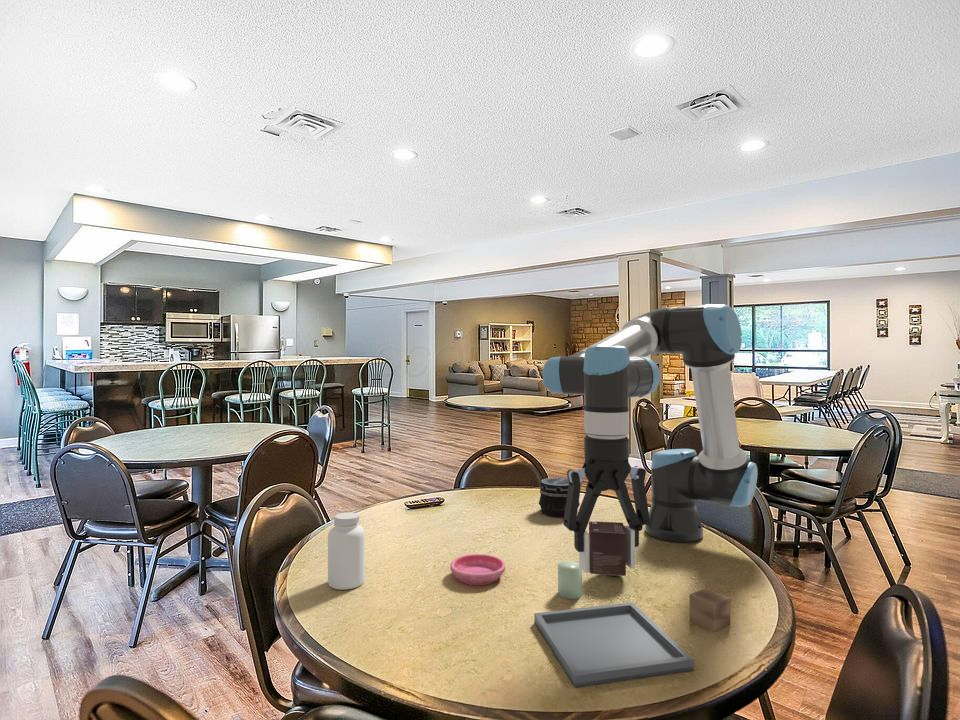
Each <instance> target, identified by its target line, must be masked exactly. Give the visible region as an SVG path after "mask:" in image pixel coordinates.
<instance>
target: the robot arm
mask: <svg viewBox="0 0 960 720" xmlns="http://www.w3.org/2000/svg"><path fill="white" fill-rule="evenodd" d="M741 328H742V327H741V323H740V320H739V316H738V315H737V313H736V312H735V310H734V309H733V307H731V306H730V305H727V304H724V303H723V304H721V303H720V304H713V303H707V304H697V305H696V304H695V305H681V306H667V307H661V308H657V309H654V310H651V311H649V312H646V313H643V314H641V315H638V316H637V317H635V318H632V319H630V320H628V321H626V323H625V324H624V325H623V326H622V327H621V329H620V330H618V331H617V332H616V331H615V332H614V333H613V334H610V335H609V336H607V337H604V338H603V339H601V340H599V341H597V342H595V343H594V344H591V345H588V346H587V347H585V348H583V349H581V350H580V351H577V352H576V353H574V354H571V355H569V356H563V355H561V356H560V355H559V356H553V357H550V358H548V359H547V360H546V361H545V363H544V365H543V368H542V375H541V376H542V379H543V381H542V382H543V385H544V387H545V388H546V390H548V391H549V392H550V393H552V394H553V393H557V394H562V395H580V396H582V395H583V396H584V406H583V407H584V411H583V413H584V415H583V417H584V418H583V420H584V433H585V434H587V435H585V437H583V438H584V442H583V445H584V446H583V447H584V451H583V452H584V453H583V454H584V455H583V456H584V464H583V465H582V468H579V469H575V470H573V469H567V471H566V474H567V475H566V476H567V478H568V481H569V486H568V493H567V500H566V507H565V515H564V517H563V522H562V523H563V526H564V527H566V529H568V531H570V532H573V538H574V540H573V541H574V542H573V545H574V549H575V550H576V551H577V552H578V563H579V567H580V568H581V569H582V572H583V573H585V574H591V573H590V541H589V532H588V531H586V530H587V527H588V526H589V522H590V520H591V516H592V514H593V512H594V509H595V506H596V502H597V500H598V498H600V497H601V494H602V492H606V491H608V490H611V491H614V492H615V495H616V497H617V500H618V502H619V504H620V507H621V510H622V513H623V514H624V518H625V520H626V523H627V524H628V525H624V529H625V532H626V567H629V569H631V570H632V569H635V568H636V548H638V547H639V545H640V532H641V531H642V530H643V528H645V529H644V531H645V533H646V534H647V535H648V536H651V537H652V538H655V539H659V540H663V541H668V542H673V543H674V542H675V543H676V542H677V543H689V542H697V541H699V540H702V539H703V538H704V537H703V536H704V528H703V525H702V522H701V518H700V516H699V511H698V509H697V501H701V502H707V503H713V504H718V505H725V506H729V507H737V508H747V507H749V505H751V502H752V500H753V498H754V495H755V492H756V487H757V482H758V481H757V480H758V465H757V463H755V462H753V461H749V460H748V454H747V452H746V451H745V450H744V449H742V448H740V442H739V435H738V434H739V433H738V427H737V417H736V408H735V402H734V394H733V385H732V380H731V379H732V378H731V370H730V364H731V363H732V362H733V361H734V360H735V358H736V356H735V354H737V353H739V351H740V350H741V347H742V343H743V342H742V334H743V333H742V329H741ZM655 354H657V355H658V354H665V355H666V354H670V355H671V354H672V355H681V357H682V361H683V364H684V365H685V366H686V367H688V368H689V369H690V371H691V376H692V383H693V390H694V399H695V403H696V404H695V405H696V410H697V411H696V413H697V417H698V418H697V419H698V425H699V431H700V437H701V445H702V450H701V451H700V453H699V454H698V455H697V452H696V450H695V449H691V448H675V449H674V448H672V449H670V448H669V449H666V450H665V449H663V450H659V451H656V452H655V453H653V454H652V456H651V467H650V471H651V477H650V478H651V505H650V508H649V506H648V498H647V491H646V490H647V489H646V486H645V485H646V484H645V481H646V480H645V479H646V475H647V474H646V473H647V471H646V469H645V468H642V467H640V466H638V465H635V466H631V465H630V461H629V458H630V439H629V438H628V436H627V435H629V434H630V406H629V403H630V398H643V397H645V396H647V395H650V394H652V393H653V392H655V391H656V390H657V389H658V387H659V385H660V381H661V371H660V368H659V367H658V366H659V365H658V364H656V362H655V361H654V360H653V359H652V358H649V357H648V356H650V355H655ZM628 476H629V477H630V479H631V480H630V482H631V487H632V495H633V501H634V505H633V502H632V500H631V497H630V495H629V489H628V487H627V484H626V482H625V481H626V479H627V478H628ZM584 477H585V478H586V479H587V480H588V481H587V484H586V486H585V493H584V495H583V499H582V500H581V503H580V496H581V495H580V494H581V485H582V484H581V483H583V479H584ZM578 504H580V505H579V507H578ZM634 507H635V508H634ZM643 526H644V527H643Z"/></svg>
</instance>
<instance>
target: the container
mask: <svg viewBox="0 0 960 720" xmlns="http://www.w3.org/2000/svg"><path fill="white" fill-rule="evenodd" d="M538 484H539V485H538V487H539V488H540V489H539V493H540V497H539V501H538V504H539V506H540V510H541V511H540V512H541V513H542V514H544V515H545V516H547V517H553V518H564V515H565V507H566V500H567V493H568V486H569V481H568V477H548V478H543V479H542V480H541V481H540V483H538ZM580 506H581V503H579V504H578V508H580Z"/></svg>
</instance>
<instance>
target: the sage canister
mask: <svg viewBox="0 0 960 720" xmlns="http://www.w3.org/2000/svg"><path fill="white" fill-rule="evenodd" d="M557 595H558V596H559V597H561V598H562V599H566V600H577V599H580V598H582V596H583V570H582V569H581V568H580V567H579V561H578V562H577V561H573V560H563V561H560V562H558V563H557Z"/></svg>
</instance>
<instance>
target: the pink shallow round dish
mask: <svg viewBox="0 0 960 720" xmlns="http://www.w3.org/2000/svg"><path fill="white" fill-rule="evenodd" d="M449 567H450V571H451V573H452V574H453V576H455V577H456V579H457V580H458V581H459V582H461V583H463V584H466V585H471V586H484V585H485V586H487V585H490V584H493V583H495V582H496V581H497V580H498V579H499V578H500V577H501V576H502V575H503V573H504V572H505V570H506V563H505V561H504V560H503V559H502V558H500V557H498V556H495V555H490V554H483V553H471V554H465V555H461V556H459V557H456V558H454V559H453V560H452V561H451V563H450V566H449Z"/></svg>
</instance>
